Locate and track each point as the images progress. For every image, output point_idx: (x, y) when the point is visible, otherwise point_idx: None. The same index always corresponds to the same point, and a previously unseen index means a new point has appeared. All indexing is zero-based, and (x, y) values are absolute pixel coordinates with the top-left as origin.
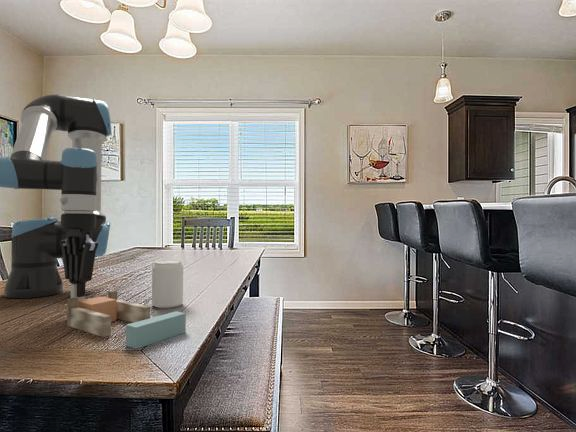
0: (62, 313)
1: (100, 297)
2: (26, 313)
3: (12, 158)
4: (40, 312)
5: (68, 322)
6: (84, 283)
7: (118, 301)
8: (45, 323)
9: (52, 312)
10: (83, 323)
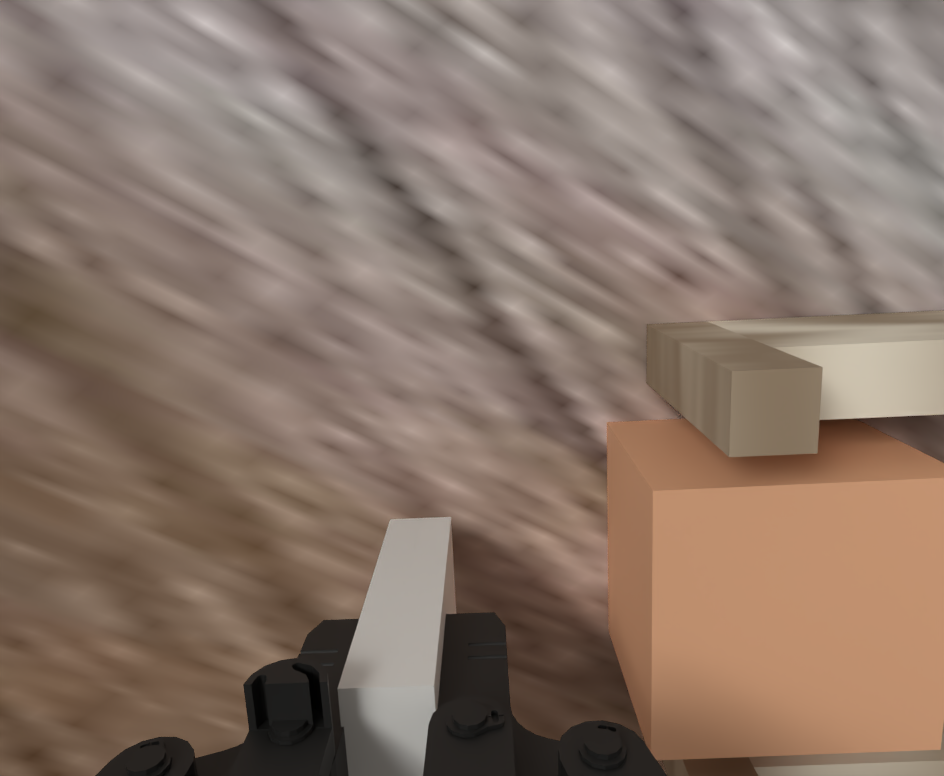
0: (229, 577)
1: (698, 529)
2: (7, 744)
3: None
4: (52, 669)
5: None
6: (514, 733)
7: (888, 402)
8: None
9: (127, 612)
10: None
